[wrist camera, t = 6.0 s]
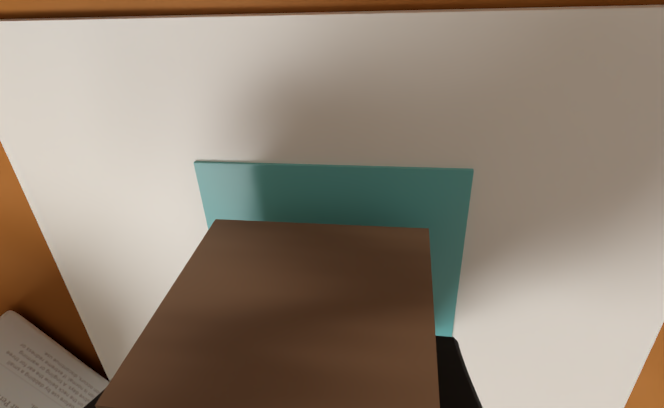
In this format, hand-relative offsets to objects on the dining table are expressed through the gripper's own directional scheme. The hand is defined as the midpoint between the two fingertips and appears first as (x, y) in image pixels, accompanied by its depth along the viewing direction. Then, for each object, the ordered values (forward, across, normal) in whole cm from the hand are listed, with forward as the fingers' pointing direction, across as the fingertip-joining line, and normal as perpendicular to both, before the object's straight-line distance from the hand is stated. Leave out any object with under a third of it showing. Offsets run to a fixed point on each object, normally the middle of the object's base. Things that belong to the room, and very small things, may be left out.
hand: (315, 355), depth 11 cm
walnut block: (+2, 0, 0) cm, 2 cm away
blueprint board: (+3, 0, 0) cm, 3 cm away
